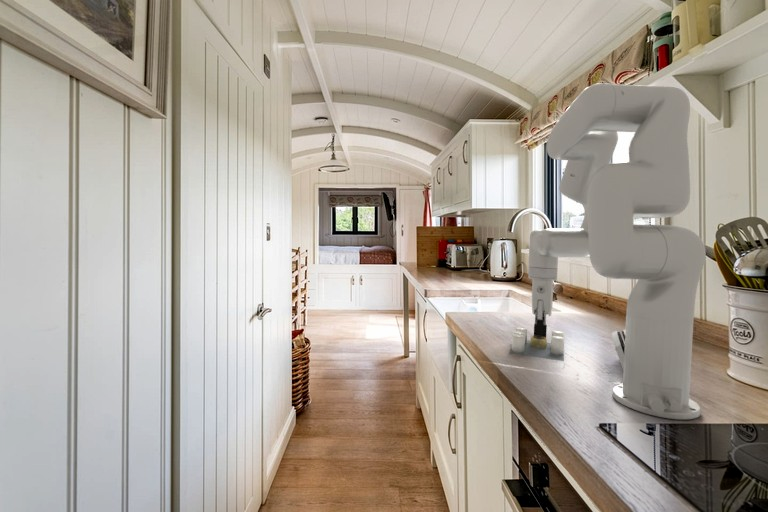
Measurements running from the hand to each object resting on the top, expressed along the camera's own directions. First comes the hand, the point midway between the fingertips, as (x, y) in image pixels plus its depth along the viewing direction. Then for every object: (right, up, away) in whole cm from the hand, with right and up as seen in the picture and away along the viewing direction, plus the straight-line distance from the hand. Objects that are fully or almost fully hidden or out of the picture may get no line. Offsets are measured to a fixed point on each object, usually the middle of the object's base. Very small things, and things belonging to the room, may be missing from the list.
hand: (539, 338), depth 106 cm
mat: (-4, -2, -7) cm, 8 cm away
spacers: (-4, -2, -7) cm, 8 cm away
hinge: (+12, -3, -21) cm, 24 cm away
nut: (-2, -1, -5) cm, 5 cm away
